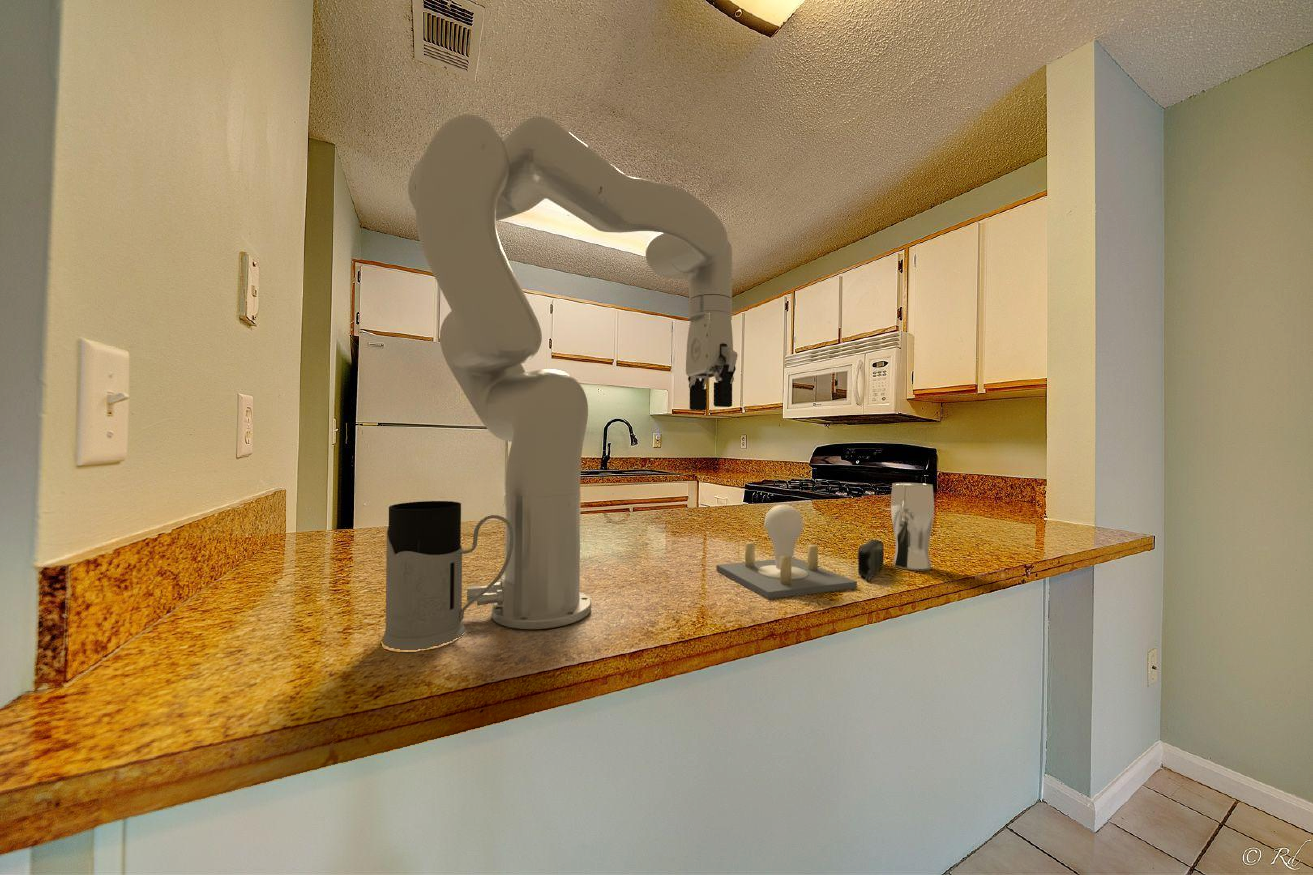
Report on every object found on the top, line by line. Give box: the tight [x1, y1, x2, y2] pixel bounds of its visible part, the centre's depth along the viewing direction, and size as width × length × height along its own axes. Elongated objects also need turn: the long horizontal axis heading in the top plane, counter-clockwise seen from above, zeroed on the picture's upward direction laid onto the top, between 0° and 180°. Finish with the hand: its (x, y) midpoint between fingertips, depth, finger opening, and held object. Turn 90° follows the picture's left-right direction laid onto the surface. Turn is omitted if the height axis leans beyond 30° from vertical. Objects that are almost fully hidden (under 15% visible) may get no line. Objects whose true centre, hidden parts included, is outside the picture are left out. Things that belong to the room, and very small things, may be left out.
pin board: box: [715, 541, 858, 600], centre depth 79 cm, size 16×16×5 cm
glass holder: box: [381, 500, 514, 650], centre depth 55 cm, size 9×14×15 cm, turn 95°
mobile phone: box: [857, 539, 885, 583], centre depth 84 cm, size 5×3×15 cm
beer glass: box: [890, 482, 935, 572], centre depth 87 cm, size 7×7×15 cm
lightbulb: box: [764, 504, 804, 571], centre depth 79 cm, size 6×6×11 cm
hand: (709, 408), depth 85 cm, fingers open, 9 cm apart
